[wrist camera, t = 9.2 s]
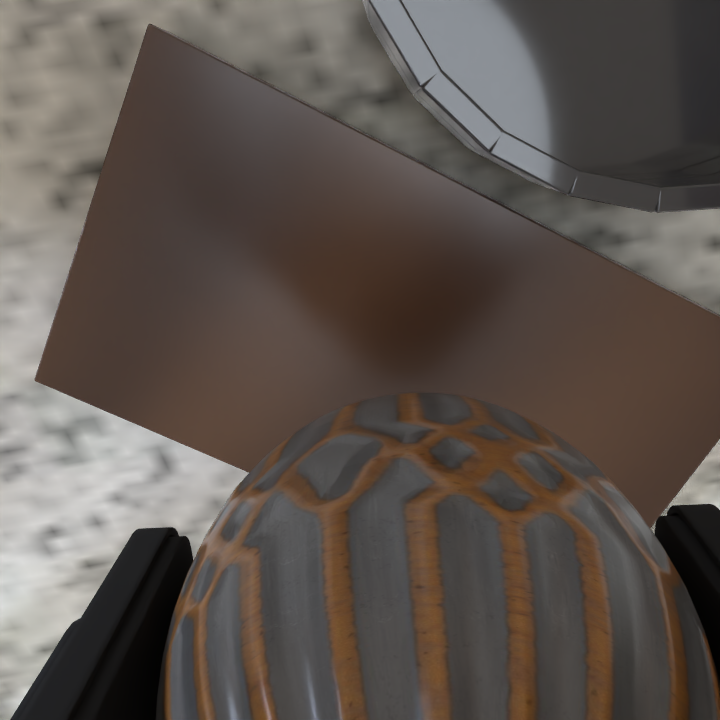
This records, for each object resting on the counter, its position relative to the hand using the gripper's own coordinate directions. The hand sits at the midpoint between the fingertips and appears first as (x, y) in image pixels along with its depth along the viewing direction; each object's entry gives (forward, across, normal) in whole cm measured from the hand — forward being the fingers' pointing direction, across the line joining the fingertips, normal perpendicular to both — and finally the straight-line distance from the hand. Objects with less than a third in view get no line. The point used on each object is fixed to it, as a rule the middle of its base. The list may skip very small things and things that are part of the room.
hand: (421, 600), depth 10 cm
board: (+12, 0, 0) cm, 12 cm away
